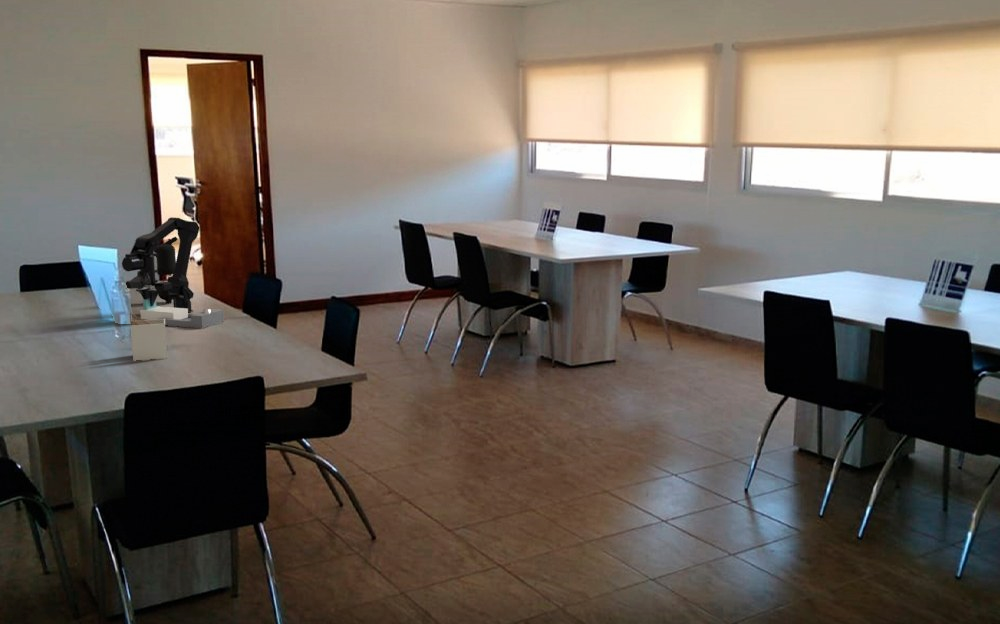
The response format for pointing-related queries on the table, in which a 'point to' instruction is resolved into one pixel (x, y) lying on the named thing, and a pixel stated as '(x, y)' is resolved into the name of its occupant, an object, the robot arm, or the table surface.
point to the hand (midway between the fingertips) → (149, 306)
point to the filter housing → (197, 319)
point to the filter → (166, 264)
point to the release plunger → (206, 310)
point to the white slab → (161, 311)
